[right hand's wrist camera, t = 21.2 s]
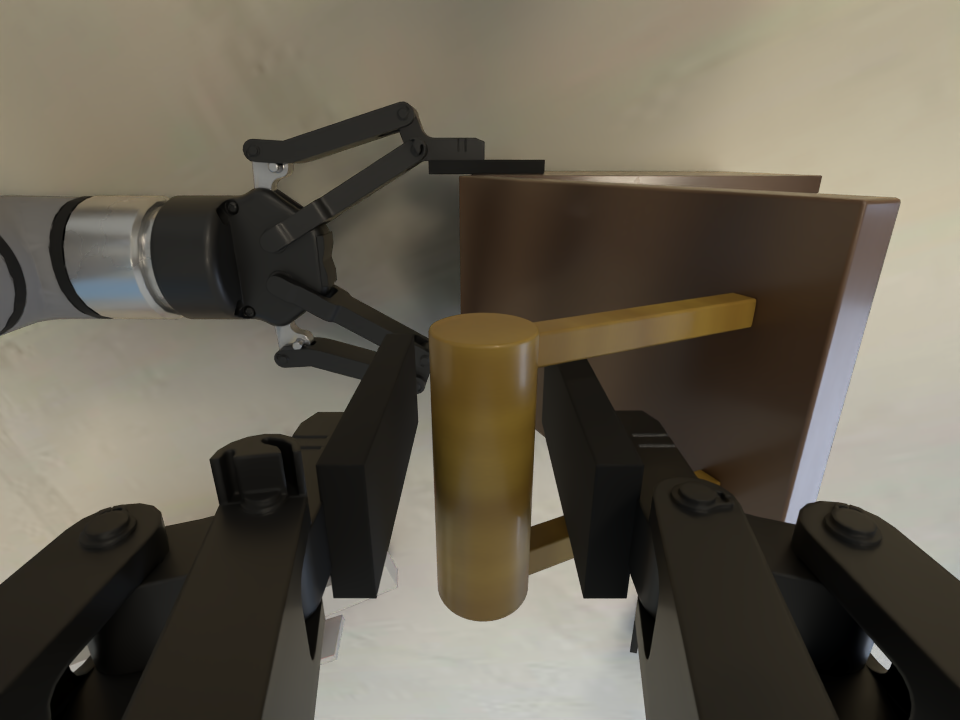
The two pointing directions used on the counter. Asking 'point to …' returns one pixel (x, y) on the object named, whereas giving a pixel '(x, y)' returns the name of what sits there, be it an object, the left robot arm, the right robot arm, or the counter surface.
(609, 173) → the chest
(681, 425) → the lid
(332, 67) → the counter surface
